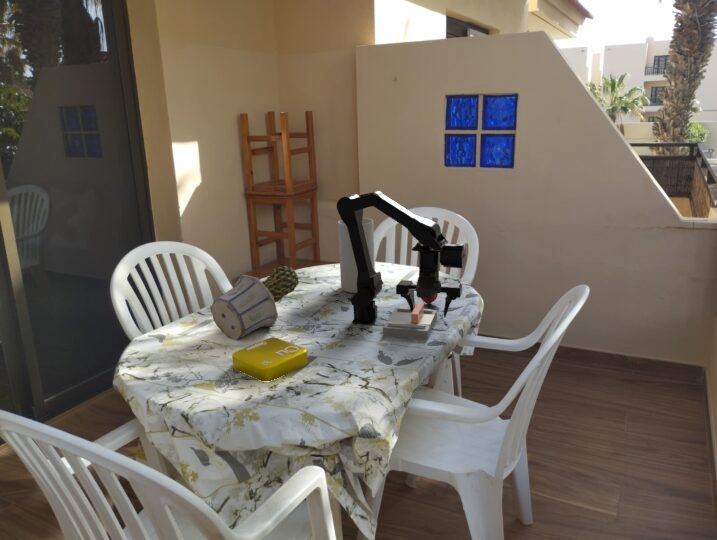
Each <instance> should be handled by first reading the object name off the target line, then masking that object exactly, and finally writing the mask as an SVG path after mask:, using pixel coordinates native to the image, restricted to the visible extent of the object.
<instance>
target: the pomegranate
mask: <svg viewBox="0 0 717 540" xmlns="http://www.w3.org/2000/svg"><path fill="white" fill-rule="evenodd" d="M438 295H439V293H437V294H434V297H433V298H424V297H422V298H420V299H421V300H422V302H423V303H424V304H427V305H431V304H432V303H433V302H435V301H436V300H437V297H438Z"/></svg>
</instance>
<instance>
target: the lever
mask: <svg viewBox="0 0 717 540" xmlns="http://www.w3.org/2000/svg"><path fill="white" fill-rule="evenodd" d="M424 309H425V302H419V301H417V303H415V308H414V310H413V311H412V313H411V323H415V324H418V323H419V321H420V319H421V317H422V315H423V313H424Z"/></svg>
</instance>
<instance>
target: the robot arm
mask: <svg viewBox="0 0 717 540" xmlns="http://www.w3.org/2000/svg"><path fill="white" fill-rule="evenodd" d="M372 207H373V208H375V209H377V210H378V211H380V212H381V213H383V214H385V215H386V216H388V217H389V218H390V219H392V220H394V221H395V222H396V223H398V224H400V225H402V227H404V228H406V230H408V231H409V233H410V235H411V236H412V237H413V238H414V239H415V240H416V241H417V243H416V244H415V246H414V247H412V248H411V251H412V252H418V278H417V281H416V282H417V283H416V284H414V281H413V280H408V279H407V280H406V279H405V280H402V279H401V280H399V282H398V283H397V285H396V287H395V294H396V295H400V297H401V298H404V299H405V300H406V302H407V304H408V306H409V308H410V309H411V312H412V311H413V310H414V308H415V306H416V302H415V293H416V298H419V299H421V298H422V297H424V298H433V297H434V294H437V293H438V294H441V293H443V294H445V293H446V295H445V299H444V300H445V302H444V308H443V318H446V317H447V314H448V311H449V307H450V305H451V303H452V302H453V301H456V300H457V299H460V298H461V297H462V294H463V285H462V283H461V282H447V283H448V284H447V285H442V281H441V280H440V265H441V266H443V268H453V269H464V268H465V267H466V262H467V253H466V249H465V244H464V243H458V244H454V243H453V244H452V243H449V241H448V240H447V239H446V237H445V236H444V235H443V233H442V229H441V226H440V225H439V224H438V223H437V222H436V221H434V220H432V219H429V218H427V217H424V216H419V215H417V214H414V213H413V212H412V211H410V210H408V209H406V208H405V207H404V206H402V205H401V204H399V203H397V202H396V201H395V200H392V199H391V198H390V197H388V196H386V195H385V194H384V193H383V192H382V191H380V190H375V191H372V192H368V193H363V194H356V193H350V194H347V195H344V196H343V197H340V198H339V199H338V201H336V210H337V213H338V215H339V217H340V220H342V221H343V222H344V223H345V225H346V226H347V229H348V233H349V237H350V241H351V245H352V250H353V254H354V258H355V262H356V266H357V270H358V275H357V293H354V295H353V296H351V297H350V299H349V300H350V303H351V305H352V306H353V319H352V321H351V322H352V323H353V324H362V325H373V324H374V322H375V321H376V320H377V319H378V305H377V304H376V300H375V299H376V298H377V296H378V295H379V294H380V293H381V291H382V289H383V285H384V284H385V283H384V282H383V278H382V274H381V271H376V269H375V270H374V269H373V267H372V263H371V259H370V255H369V250H368V246H367V242H366V238H365V233H364V229H363V225H362V218H364V217H363V216H364V209H366V208H372Z"/></svg>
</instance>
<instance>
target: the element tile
mask: <svg viewBox="0 0 717 540" xmlns="http://www.w3.org/2000/svg"><path fill="white" fill-rule="evenodd" d="M231 359H232V368H233V370H234V369H236V370H238V371H241V372H243V373H245V374H247V375H250V376H252V377H254V378H257V379H259V380H261V381H271V380H274V379H277V378H279V377H281V376H283V375H285V376H287V375H289V374H291V373H293V372H295V371H297V370H296V369H298V368H300V369H301V367H302V368H304V367H306V366H307V365H308V364H307V363H308V350H307V348H305V347H303V346H301V345H298V344H295V343H292V342H289V341H287V340H283V339H281V338H278V337H275V336H274V337H273V336H272V337H268V338H267V339H263V340H262V341H259V342H256V343H254V344H252V345H249V346H247V347H245V348H242V349H239V350H237V351H235V352H233V353H232V355H231ZM306 364H307V365H306ZM305 365H306V366H305ZM303 366H304V367H303ZM236 370H235V371H236ZM294 370H295V371H294ZM298 370H299V369H298ZM238 371H237V372H238ZM292 371H293V372H292ZM241 372H240V373H241ZM290 372H291V373H290ZM243 373H242V374H243ZM288 373H289V374H288ZM245 374H244V375H245ZM286 374H287V375H286ZM247 375H246V376H247ZM252 377H251V378H252ZM283 377H284V376H283ZM254 378H253V379H254ZM281 378H282V377H281ZM279 379H280V378H279ZM277 380H278V379H277Z"/></svg>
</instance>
